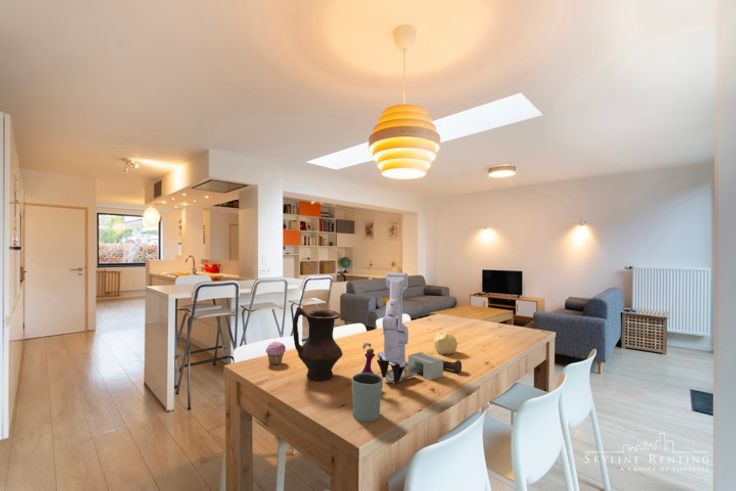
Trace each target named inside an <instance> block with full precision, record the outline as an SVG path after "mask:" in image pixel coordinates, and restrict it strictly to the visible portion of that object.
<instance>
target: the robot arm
mask: <svg viewBox="0 0 736 491" xmlns="http://www.w3.org/2000/svg"><path fill="white" fill-rule="evenodd" d="M385 285H386V287H387V289H389V300H387V302H386V305H385V311H384V312H385V313H384V316H383V317H382V323H381V324H382V335H383V351H380V352H377V360H376V363H377V365H378V366H379V370H380V373H381V377H382V378H383V379H384V378H385V373H386V371H389V366H390V365H391V367H390V368H391V370H393V375H394V382H393V383H394V384H400V382H401V380H400V378H401V374H402V372H403V370H404V368H405V366H407V365H408V361H406V345H407V344H409V328H408V327H407V326H406V325H405V324H404V323H403V292H404V290H407V289H408V287H409V286H408V285H409V276H408V273H407V272H389V271H388V272H386V273H385ZM385 379H386V378H385Z"/></svg>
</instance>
